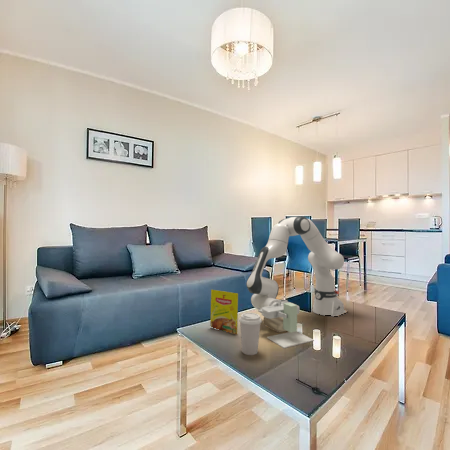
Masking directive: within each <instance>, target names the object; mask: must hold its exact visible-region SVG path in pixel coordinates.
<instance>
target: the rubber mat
mask: <svg viewBox="0 0 450 450" xmlns="http://www.w3.org/2000/svg"><path fill="white" fill-rule="evenodd" d="M266 339H268V340H270V341H271V342H273V343H274V344H276V345H278V346H279V347H280V348H282V349H288V348H290V347H295V346H299V345H303V344H306V343H307V344H308V343H311V342H314V341H315V340H314V339H313V338H311V337H310V336H307V335H305V334H303V333H301V332H299V331H298V330H297V331H296V332H291V333H290V332H288V331H287V332H284V333H279V334H274V335H270V336H267V337H266Z"/></svg>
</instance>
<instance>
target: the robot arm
mask: <svg viewBox="0 0 450 450" xmlns="http://www.w3.org/2000/svg"><path fill="white" fill-rule="evenodd" d="M295 236H300V238H301V239H302V241H303V242H304V244H305V246H306V248H307V249H308V251H310V252H309V253H308V256H307V260H308V263H310V265H311V266H312V269H313V271H314V276H315V277H314V278H315V289H314V300H313V306H312V308H313V309H312V313H314V314H317V315H319V314H320V316H325V315H331V316H330V317H334V316H338V315H341V314H343V313H345V312H346V311H345V310H346V309H345V305H344V302H343V301H342V300H341V299H339V298H338V297H337V295H339V294H340V291H338V290H335V277H334V276H333V275H332V274H331V271H330V270H332V271H333V270H340V269H342V268H343V266H344V264H345V258H344V256H343V254H341V253H339V252H338V251H336V250H335V249H334V248H333V247H332V246H331V245H330V244H328V242H327V241H326V240H325V238H324V236H322V234H321V232H320V230H319V229H318V227H317V226H316V224H315V223H314V222H313V221H312V220H311V219H309V218H308V217H305V216H303V215H302V216H299V215H298V216H291V217H288V218H283V219H281V220H279V221H278V223H276V224H274V225H273V227H272V228H271V231H270V234H269V236H268V240H267V243H266V245H265V246H264V247H262V248H261V249H260V250H259V253H258V255H257V258H256V260H255V263H254V266H253V267H252V270H251V272H250V274H249V276H248V278H247V279H246V283H245V284H246V288H247V291H248V292H249V293H251V294H252V295H251V297H250V303H251V304H252V306H253V307H254V308H255V309H256V310H257V312H259V313H260V314H261V316H262V317H263V318H264V317H266V318H268V319H271V318H277V317H284V318H288V314H286V313H283V312H284V303H292V302H290V301H288V299H278V298H277V297H278V295H279V290H280V289H279V288H280V287H279V284H278V282H277V281H276V280H274V279H272V278H268V277H265V276H263V273H264V270H265V266H266V264H267V262H268V261H269V260H270V259H277V258H280V257H283V256H284V255H285V254H286V252H287V248H288V245H289V239H290V237H295ZM294 304H295V303H294ZM295 305H297V304H295ZM344 309H345V310H344ZM299 314H300V306H299V305H297V315H299ZM343 315H344V314H343ZM341 316H342V315H341ZM338 317H339V316H338Z"/></svg>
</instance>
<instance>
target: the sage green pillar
mask: <svg viewBox="0 0 450 450" xmlns="http://www.w3.org/2000/svg"><path fill="white" fill-rule="evenodd" d="M283 313H286V314H288V318H284V317H283V329H284V330H286V331H287V333H288V332H290V333H291V332H296V331H297V332H298V314H297V304H296V305H295V303H293V302H291V303H284V312H283ZM286 331H285V332H286Z"/></svg>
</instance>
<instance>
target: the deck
mask: <svg viewBox="0 0 450 450" xmlns="http://www.w3.org/2000/svg"><path fill="white" fill-rule="evenodd" d="M263 326H265V327H267V328H269V329H270V330H272V331H274V332H276V333H282V332H286V330H284V329H283V317H277V318H271V319H268V318H266V317H264V316H263Z"/></svg>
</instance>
